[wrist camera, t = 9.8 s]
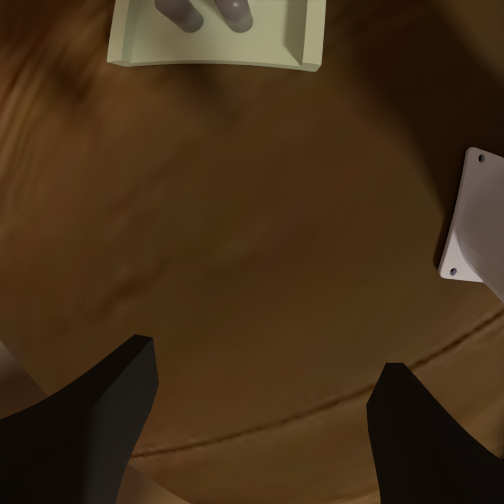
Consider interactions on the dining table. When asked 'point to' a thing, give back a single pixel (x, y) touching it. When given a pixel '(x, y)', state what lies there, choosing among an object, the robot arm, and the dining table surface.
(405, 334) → the dining table surface
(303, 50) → the tray
